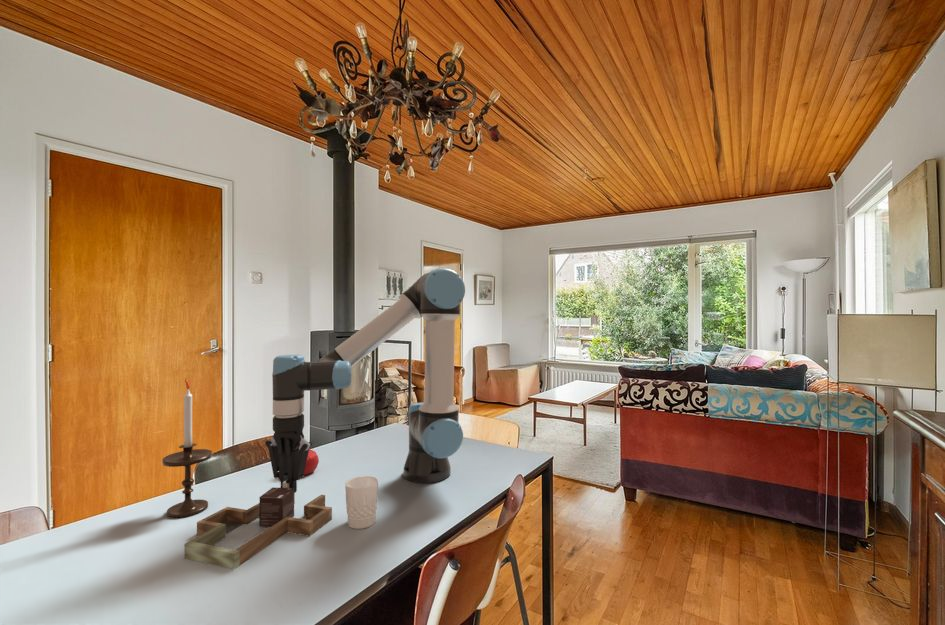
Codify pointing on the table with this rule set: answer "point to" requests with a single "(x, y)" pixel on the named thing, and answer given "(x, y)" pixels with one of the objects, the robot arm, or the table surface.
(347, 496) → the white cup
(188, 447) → the candlestick
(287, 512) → the box
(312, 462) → the pomegranate
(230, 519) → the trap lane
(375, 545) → the table surface
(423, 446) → the robot arm
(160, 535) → the table surface
